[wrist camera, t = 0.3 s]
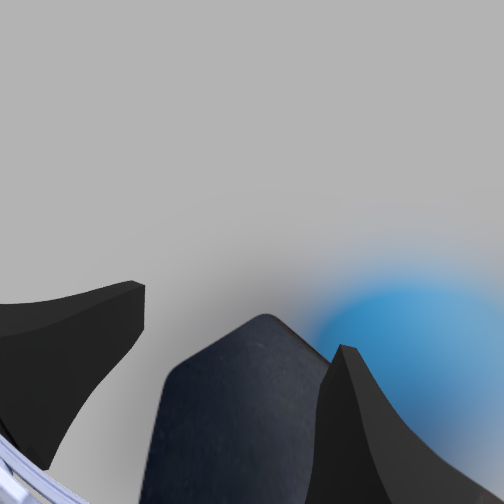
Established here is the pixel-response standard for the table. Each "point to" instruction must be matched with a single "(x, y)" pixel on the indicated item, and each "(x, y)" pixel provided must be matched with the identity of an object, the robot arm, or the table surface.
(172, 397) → the table surface
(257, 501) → the table surface
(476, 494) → the robot arm
